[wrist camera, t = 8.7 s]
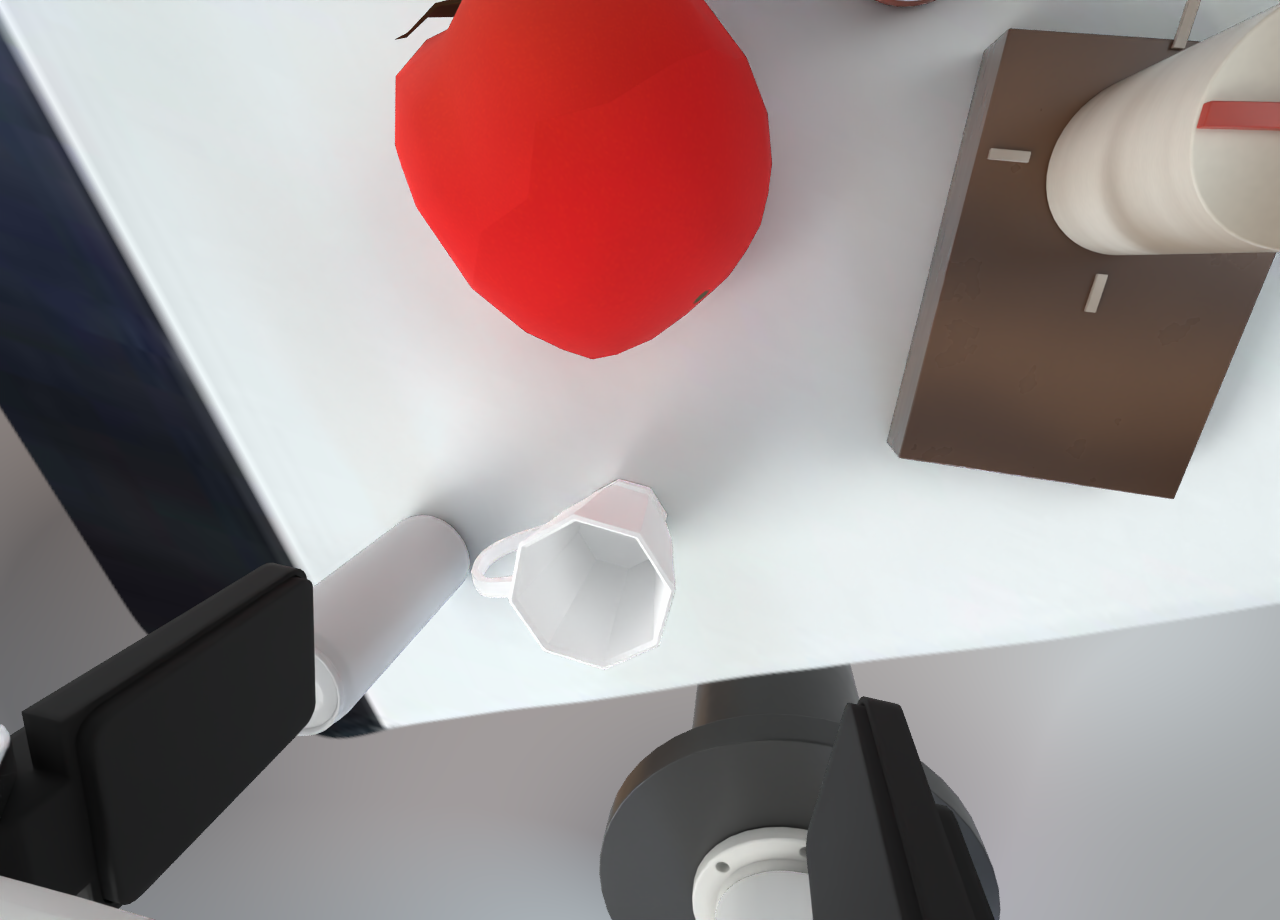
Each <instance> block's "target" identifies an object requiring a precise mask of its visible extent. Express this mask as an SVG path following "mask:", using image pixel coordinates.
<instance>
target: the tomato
mask: <svg viewBox="0 0 1280 920" xmlns="http://www.w3.org/2000/svg"><path fill="white" fill-rule="evenodd" d="M428 17H454V18H453V20H452V22H451V24H450V26H449V28H448V29H447V30H445V31H443V32H441V33H439V34H437V35H435V36H433V37H431V38H429V39H427V40H426V41H425V42H424V43H423V45H422V46H421V47H420V48H419V49H418V51H417V52H416V53H415V54H414V55H413V56H412V58H411V59H410V60H409V61H408V62H407V64H406V65H405V66H404V67H403V68H402V70H401V71H400V72H399V73H398V74H397V75H396V99H395V146H396V150H397V153H398V156H399V159H400V163H401V166H402V169H403V171H404V174H405V177H406V180H407V183H408V185H409V188H410V191H411V194H412V196H413V199H414V202H415V205H416V207H417V209H418V210H419V212H420V213H421V215H422V216H423V218H424V219H425V220H426V222H427V223H428V225H429V226H430V228H431V229H432V231H433V232H434V234H435V235H436V236H437V238H438V239H439V241H440V242H441V244H442V245H443V247H444V248H445V250H446V251H447V253H448V254H449V255H450V257H451V258H452V260H453V261H454V263H455V264H456V266H457V267H458V269H459V270H460V272H461V273H462V275H463V276H464V278H465V279H466V280H467V282H468V283H469V285H470V286H471V288H472V289H473V290H475V291H476V292H477V293H478V294H480V295H481V296H482V297H483V298H484V299H486V300H487V301H488V302H489V303H491V304H492V305H493V306H494V307H496V308H497V309H498V310H499V311H500V312H502V313H503V314H504V315H505V316H507V317H508V318H509V319H510V320H511V321H513V322H514V323H515V324H516V325H518V326H519V327H520V328H521V329H523V330H524V331H525V332H527V333H529V334H531V335H533V336H535V337H537V338H539V339H542V340H544V341H546V342H548V343H550V344H552V345H554V346H556V347H558V348H561V349H563V350H565V351H568V352H571V353H575V354H578V355H581V356H584V357H587V358H590V359H596V358H601V357H606V356H611V355H616V354H619V353H621V352H624V351H626V350H628V349H630V348H633V347H635V346H637V345H640V344H642V343H644V342H647V341H649V340H651V339H653V338H654V337H656V336H657V335H659V334H660V333H661V332H663V331H664V330H665V329H667V328H668V327H670V326H671V325H672V324H674V323H675V322H676V321H678V320H679V319H681V318H682V317H683V316H685V315H686V314H687V313H688V312H689V311H691V310H692V309H693V308H694V307H695V306H696V305H697V304H698V303H700V302H701V301H702V300H703V299H704V298H705V297H706V296H707V295H709V294H710V293H711V292H712V291H713V290H714V289H715V288H716V287H717V286H718V285H720V284H721V283H722V282H723V281H724V280H725V279H726V278H727V277H728V276H729V275H730V273H731V272H732V271H733V269H734V268H735V266H736V265H737V263H738V262H739V261H740V259H741V258H742V256H743V255H744V253H745V252H746V250H747V248H748V247H749V245H750V243H751V241H752V239H753V237H754V236H755V234H756V232H757V230H758V228H759V227H760V225H761V221H762V217H763V212H764V208H765V204H766V200H767V196H768V191H769V183H770V175H771V167H772V158H771V147H770V135H769V124H768V113H767V111H766V108H765V105H764V103H763V100H762V97H761V94H760V92H759V89H758V86H757V84H756V81H755V78H754V76H753V73H752V70H751V68H750V65H749V62H748V60H747V58H746V56H745V55H744V53H743V52H742V51H741V49H740V48H739V47H738V45H737V44H736V43H735V41H734V40H733V39H732V37H731V36H730V35H729V33H728V32H727V31H726V29H725V28H724V27H723V25H722V24H721V22H720V21H719V20H718V18H717V17H716V16H715V14H714V13H713V12H712V10H711V9H710V8H709V6H708V5H707V4H706V2H705V1H704V0H446V1H442V2H438V3H435V4H434V5H433V6H432V7H431V8H430V9H429V10H428V11H427V12H426V14H425V15H424V16H423V17H422V18H421V19H420V20H419V21H418V22H417V23H416V24H415V25H414V26H413V27H412V29H411V30H410V31H409V32H408V33H406V34H404V35H402V36H400V37H398V38H397V39H401V38H407V37H408V36H409V35H410V34H411V33H412V32H413V31H414V30H415V29H416V28H417V27H418V26H419V25H420V24H421V23H422V22H423V21H424V20H425V19H427V18H428Z"/></svg>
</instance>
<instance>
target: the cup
mask: <svg viewBox="0 0 1280 920" xmlns="http://www.w3.org/2000/svg"><path fill="white" fill-rule="evenodd" d="M666 518H667V513H666V512H665V510H664V509H663V507H662V505H661V504H660V502H659V500H658V499H657V497H656V496H655V494H654V492H653V491H652V489H651V488H650V487H646V486H643V485H639V484H636V483H632V482H628V481H625V480H621V479H618V480H616V481H614V482H612V483H611V484H609V485H607V486H605V487H603V488H601V489H599V490H598V491H596V492H594V493H592V495H591V496H590V497H588V498H586V499H584V500H582V501H580V502H579V503H577V504H575V505H573V506H571V507H569V508H567V509H566V510H564V511H563V512H561V513H560V514H559V515H557V516H556V517H555V518H553V519H552V520H551V521H549V522H548V523H547V524H544V525H540V526H537V527H534V528H531V529H528V530H525V531H522V532H519V533H516V534H513V535H511V536H508V537H506V538H504V539H501V540H499V541H497V542H495V543H493V544H492V545H490V546H489V547H487V548H486V549H484V550H483V551H482V552H481V553H480V554H479V556H478V557H477V558H476V560H475V561H474V564H473V567H472V570H471V575H472V579H473V583H474V587H475V588H476V589H477V591H478V592H479V593H480V594H481V596H486V597H491V598H509V599H508V600H509V602H510V603H511V605H512V606H513V608H514V609H515V610H516V612H517V613H518V615H519V616H520V618H521V619H522V621H523V622H524V623H525V625H526V626H527V628H528V629H529V631H530V632H531V634H532V635H533V636H534V638H535V639H536V641H537V642H538V644H539V645H540V646H541V648H542V649H543V651H545V652H549V653H552V654H555V655H558V656H562V657H565V658H568V659H571V660H574V661H578V662H581V663H584V664H587V665H591V666H594V667H597V668H600V669H604V670H605V669H608V668H610V667H612V666H614V665H617V664H619V663H621V662H624V661H626V660H628V659H630V658H633V657H635V656H637V655H640V654H642V653H644V652H646V651H649V650H651V649H653V648H656V647H658V646H659V645H660V642H661V638H662V635H663V631H664V628H665V624H666V621H667V618H668V614H669V611H670V607H671V604H672V600H673V597H674V593H675V590H676V588H675V574H674V564H673V548H672V539H671V536H670V533H669V530H668V527H667V524H666ZM516 550H518V551H517V556H516V561H515V567H514V572H513V576H507V577H500V578H493V579H492V578H486V577H484V574H485V573H486V571H487V570H488V568H489V566H490V565H491V564H493V563H494V562H495V561H497V560H498V559H500V558H501V557H503V556H504V555H507V554H509V553H511V552H514V551H516Z"/></svg>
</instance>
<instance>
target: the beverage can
mask: <svg viewBox="0 0 1280 920" xmlns="http://www.w3.org/2000/svg"><path fill="white" fill-rule="evenodd" d="M469 567H470V558H469V553H468V550H467V547H466V545H465V543H464V541H463V539H462V538H461V536H460V535H459V534H458V533H457V532H456V530H455V529H454V528H453V527H452V526H450V525H449V524H448V523H446V522H445V521H444V520H441V519H438V518H436V517H433V516H427V515H418V516H411V517H409V518H407V519H405V520H402V521H401V522H399V523H398V524H397V525H395V526H394V527H393V528H391V529H390V530H389V531H387V532H386V533H385V534H383V535H382V536H381V537H379V538H378V539H377V540H375V541H374V542H373V543H371V544H370V545H369V546H367V547H366V548H365V549H363V550H362V551H361V552H359V553H358V554H357V555H355V556H354V557H353V558H351V559H350V560H349V561H347V562H346V563H345V564H343V565H342V566H341V567H339V568H338V569H337V570H335V571H334V572H333V573H331V574H330V575H329V576H327V577H326V578H325V579H323V580H322V581H321V582H319V583H318V584H317V585H315V586H314V587H313V606H314V649H315V693H316V704H315V710H314V713H313V715H312V718H311V719H310V721H309V723H308V724H307V725H306V726H305V727H304V728H303V729H302V730H301V732H300V733H299V734H298V736H305V735H314V734H317V733H320V732H322V731H325V730H326V729H327V728H328V727H330V726H331V725H332V724H333V723H334V722H336V721H338V720H339V719H341V718H342V717H343V716H344V715H345V714H347V713H348V712H349V711H350V710H351V708H352V707H353V706H354V705H355V704H356V703H357V702H358V701H359V699H360V698H361V697H362V696H363V695H364V694H365V693H366V692H367V690H368V689H369V688H370V687H371V686H372V685H373V684H374V683H375V681H376V680H377V679H378V678H379V677H380V676H381V675H382V673H383V672H384V671H385V670H386V669H387V668H388V667H389V666H390V664H391V663H392V662H393V661H394V660H395V659H396V658H397V657H398V655H399V654H400V653H401V652H402V651H403V650H404V649H405V648H406V646H407V645H408V644H409V643H410V642H411V641H412V640H413V639H414V637H415V636H416V635H417V634H418V633H419V632H420V631H421V629H422V628H423V627H424V626H425V625H426V624H427V623H428V622H429V620H430V619H431V618H432V617H433V616H434V615H435V614H436V613H437V611H438V610H439V609H440V608H441V607H442V606H443V605H444V604H445V602H446V601H447V600H448V599H449V598H450V597H451V596H452V594H453V593H454V592H455V591H456V590H457V589H458V588H459V587H460V585H461V584H462V583H463V582H464V580H465V578H466V577H467V575H468V571H469Z"/></svg>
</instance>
